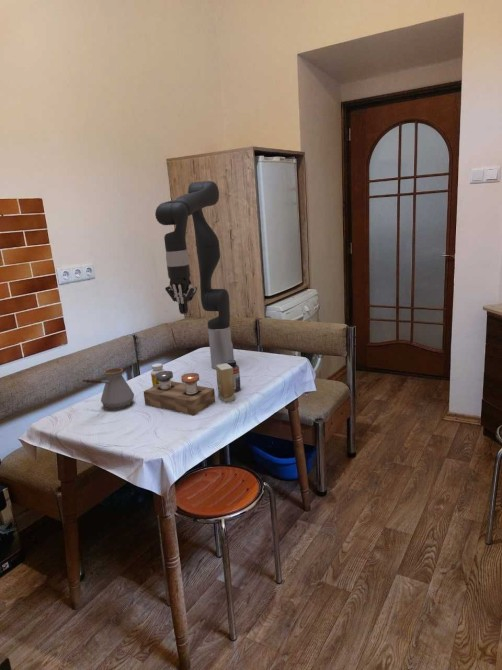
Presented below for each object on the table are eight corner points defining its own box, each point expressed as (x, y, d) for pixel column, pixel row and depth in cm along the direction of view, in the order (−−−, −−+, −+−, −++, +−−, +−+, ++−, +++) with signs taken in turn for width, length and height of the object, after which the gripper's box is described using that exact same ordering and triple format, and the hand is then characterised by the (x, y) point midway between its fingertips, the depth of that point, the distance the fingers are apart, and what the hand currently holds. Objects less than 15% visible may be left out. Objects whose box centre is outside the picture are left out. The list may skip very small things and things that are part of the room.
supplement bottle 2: (221, 390, 175) (218, 361, 172) (232, 385, 180) (230, 357, 177) (232, 394, 171) (230, 364, 168) (244, 388, 176) (241, 359, 173)
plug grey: (166, 394, 173) (163, 369, 171) (179, 397, 170) (176, 371, 168) (155, 400, 169) (151, 375, 166) (167, 403, 165) (164, 377, 163)
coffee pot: (115, 397, 176) (109, 359, 172) (141, 400, 172) (136, 360, 168) (75, 422, 157) (67, 379, 153) (103, 425, 153) (96, 382, 149)
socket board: (168, 392, 177) (166, 380, 176) (215, 402, 165) (214, 388, 164) (145, 404, 167) (143, 391, 166) (193, 415, 156) (192, 401, 154)
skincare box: (218, 397, 169) (214, 364, 166) (229, 394, 171) (226, 362, 168) (224, 403, 164) (221, 369, 161) (235, 400, 165) (233, 367, 162)
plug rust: (191, 397, 167) (188, 371, 164) (205, 400, 164) (202, 374, 161) (180, 403, 162) (177, 377, 159) (194, 406, 159) (191, 379, 156)
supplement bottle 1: (163, 385, 185) (161, 361, 183) (169, 388, 181) (166, 364, 179) (150, 388, 183) (147, 364, 180) (156, 392, 178) (153, 368, 176)
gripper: (200, 262, 160) (205, 312, 165) (170, 262, 167) (176, 309, 172) (186, 265, 154) (192, 317, 159) (155, 265, 161) (162, 314, 166)
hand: (183, 313), depth 166 cm, fingers closed
